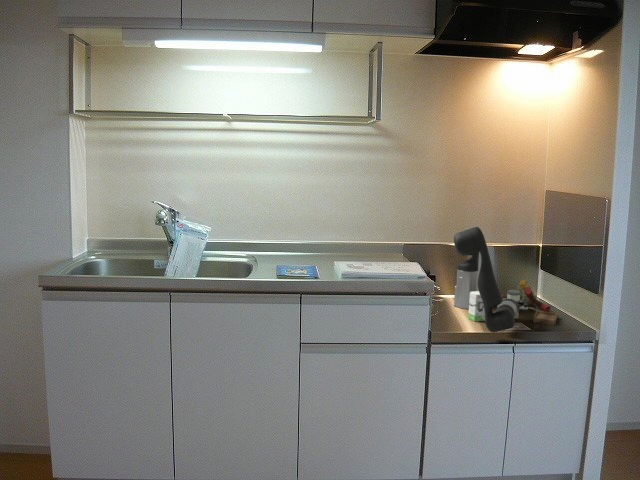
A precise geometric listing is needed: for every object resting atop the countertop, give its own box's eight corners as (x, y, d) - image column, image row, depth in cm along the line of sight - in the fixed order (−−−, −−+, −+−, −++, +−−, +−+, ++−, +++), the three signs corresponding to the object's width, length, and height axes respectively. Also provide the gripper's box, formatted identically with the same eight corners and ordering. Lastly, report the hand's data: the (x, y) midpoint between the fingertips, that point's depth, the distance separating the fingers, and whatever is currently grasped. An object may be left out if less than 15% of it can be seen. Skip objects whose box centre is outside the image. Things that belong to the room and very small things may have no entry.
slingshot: (546, 304, 253) (558, 303, 238) (531, 320, 252) (542, 320, 237) (519, 279, 255) (529, 276, 241) (504, 295, 255) (513, 293, 240)
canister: (504, 317, 227) (506, 291, 225) (506, 314, 231) (508, 289, 229) (517, 319, 224) (519, 293, 222) (519, 316, 229) (521, 290, 227)
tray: (532, 322, 225) (533, 317, 225) (536, 314, 236) (536, 310, 236) (554, 325, 221) (555, 320, 221) (557, 317, 232) (557, 313, 232)
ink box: (474, 321, 224) (476, 294, 223) (467, 318, 229) (469, 291, 227) (492, 320, 227) (493, 293, 225) (485, 316, 232) (486, 290, 230)
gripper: (527, 303, 210) (532, 293, 225) (489, 298, 217) (497, 289, 232) (525, 322, 211) (531, 311, 226) (488, 316, 218) (496, 306, 233)
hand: (513, 300), depth 229 cm, fingers closed on canister, 5 cm apart
